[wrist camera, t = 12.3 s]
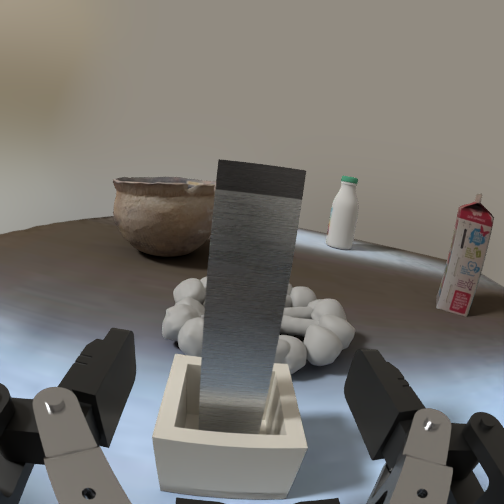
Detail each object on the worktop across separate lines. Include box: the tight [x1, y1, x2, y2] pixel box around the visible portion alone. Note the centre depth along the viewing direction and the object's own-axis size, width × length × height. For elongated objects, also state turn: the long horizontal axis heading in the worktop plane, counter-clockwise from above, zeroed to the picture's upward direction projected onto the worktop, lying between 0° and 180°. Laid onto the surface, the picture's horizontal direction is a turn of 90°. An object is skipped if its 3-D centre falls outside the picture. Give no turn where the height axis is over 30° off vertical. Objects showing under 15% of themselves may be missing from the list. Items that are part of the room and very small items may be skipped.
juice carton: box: [436, 194, 494, 317], centre depth 49 cm, size 7×7×22 cm
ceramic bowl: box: [113, 177, 216, 257], centre depth 62 cm, size 22×22×15 cm
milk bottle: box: [326, 176, 358, 249], centre depth 86 cm, size 8×8×20 cm
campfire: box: [162, 277, 355, 375], centre depth 36 cm, size 22×21×6 cm
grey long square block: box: [199, 160, 306, 434], centre depth 16 cm, size 4×4×18 cm
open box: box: [152, 354, 308, 499], centre depth 18 cm, size 8×8×6 cm
